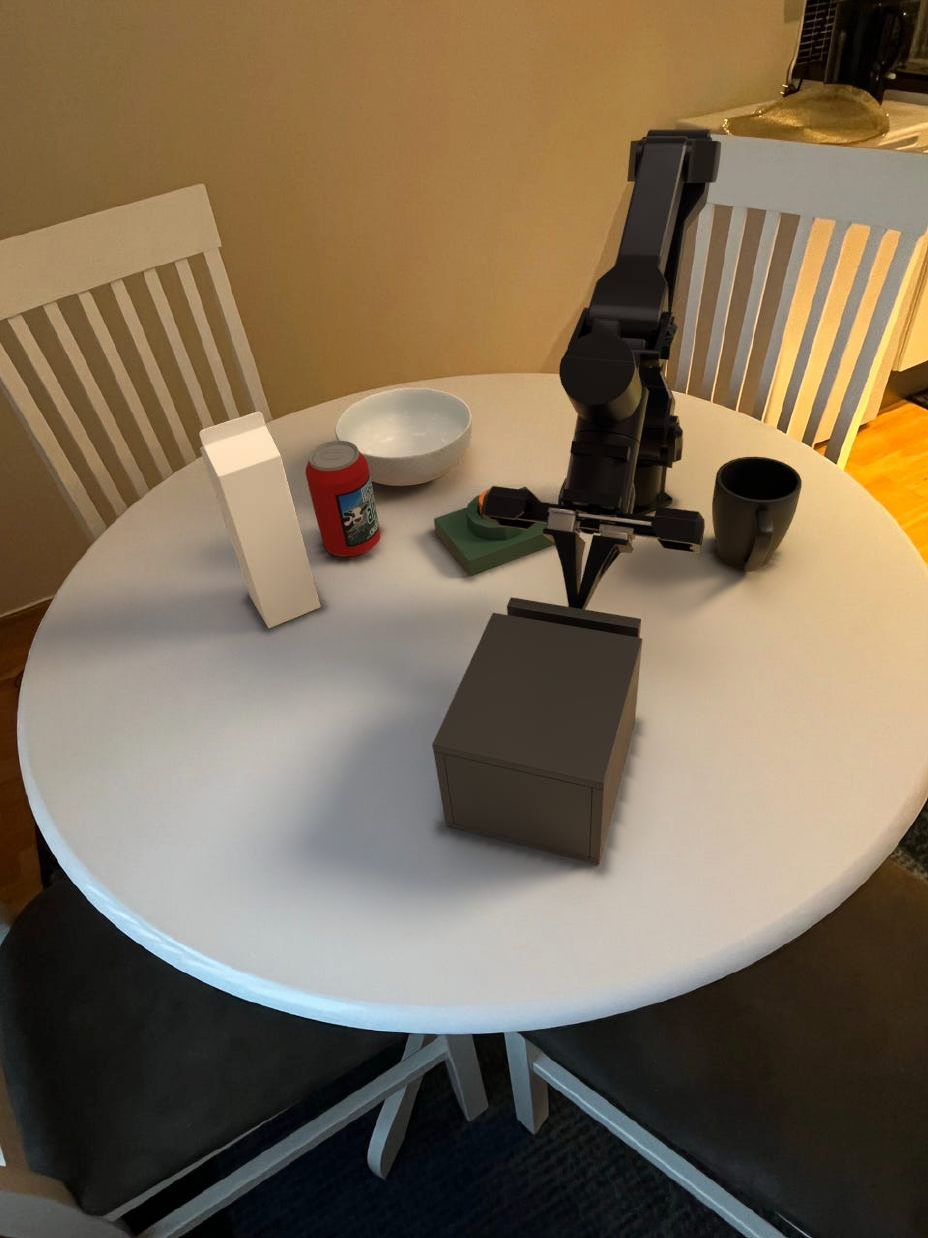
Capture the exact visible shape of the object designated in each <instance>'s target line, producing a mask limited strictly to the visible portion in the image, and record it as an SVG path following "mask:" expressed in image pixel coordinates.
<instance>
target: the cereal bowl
mask: <svg viewBox="0 0 928 1238" xmlns="http://www.w3.org/2000/svg"><path fill="white" fill-rule="evenodd" d="M334 429H335V431H334V432H335V438H336V441H347V442H351V443H353V444H354V445H356V446H357V448H358V450H359V451H360V453H361V454H362V455H363V456H364V457H365V458H366V460H367V464H368V469H369V474H370V479H371V482H373V483H378V484H381V485H385V486H396V487H397V486H399V487H403V486H405V487H407V486H414V485H416V486H417V485H420V484H424V483H428V482H431V481H433V480H436V479H438V478H441V477H442V476H445V475H446V474H448V473H449V472H451V471H452V470H453V469H455V468H456V467H457V465H459V464H460V462H461V461H462V460H463V459H464V457H465V456H466V454H467V452H468V450H469V448H470V445H471V443H472V442H471V441H472V436H473V415H472V411H471V409H470V407H469V406H468V404H467V403H466V402H465V401H464V400H463V399H461V398H460V397H458V396H456V395H454V394H452V393H450V392H447V391H444V390H441V389H435V388H428V387H400V388H393V389H387V390H383V391H380V392H375V393H374V394H371V395H370V394H369V395H367V396H365V397H363V398H361V399H359V400H357V401H355V402H354V403H352V404H351V405H350V406H348V407H347V408H346V409H345V410H344V411H343V412H342V413H341V414H340V415H339V417H338V419H337V421H336V424H335V428H334Z"/></svg>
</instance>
